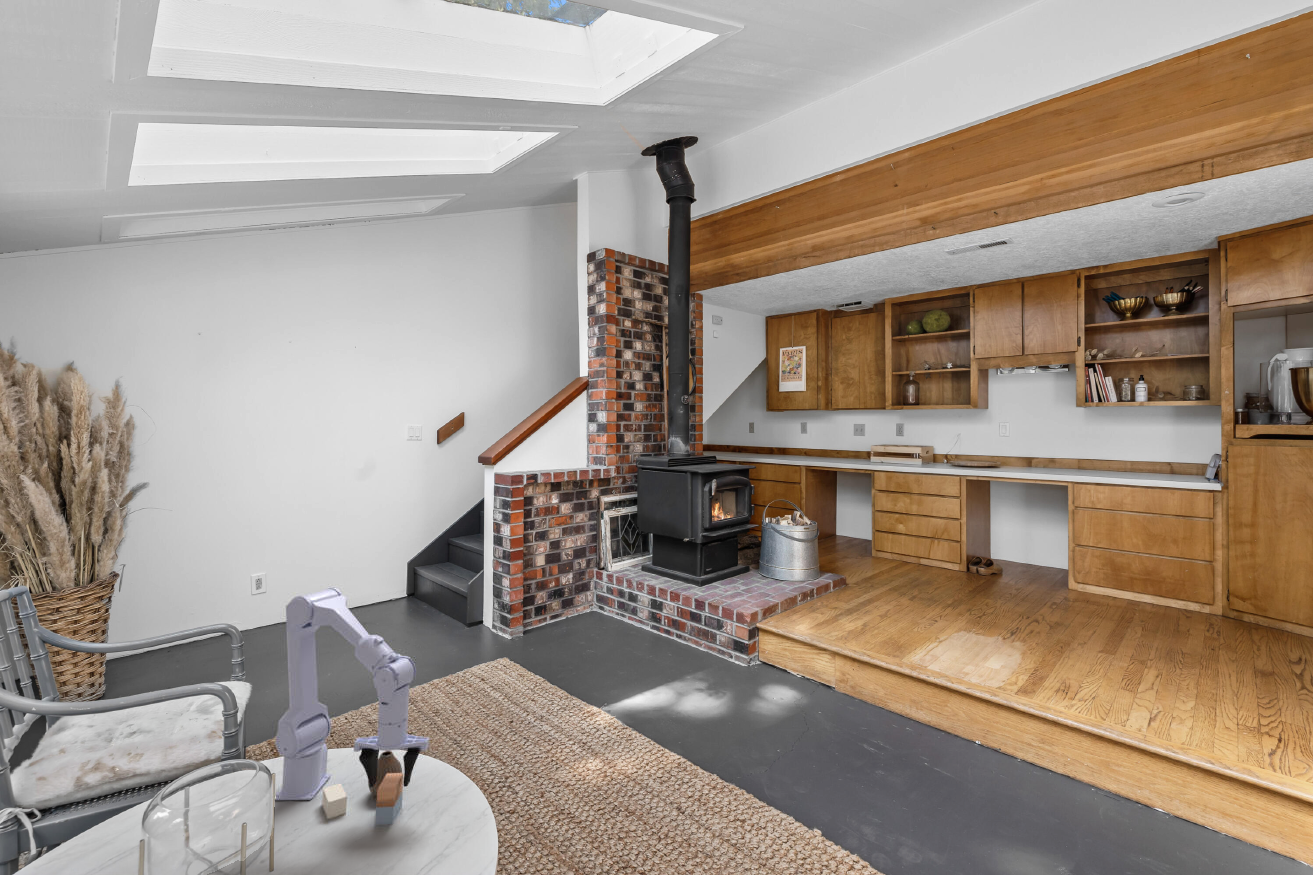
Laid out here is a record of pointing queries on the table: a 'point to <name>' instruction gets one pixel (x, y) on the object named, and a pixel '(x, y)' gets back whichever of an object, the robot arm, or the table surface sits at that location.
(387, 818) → the slate brick
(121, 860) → the table surface
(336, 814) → the cream brick
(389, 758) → the vase
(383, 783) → the terracotta brick
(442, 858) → the table surface
